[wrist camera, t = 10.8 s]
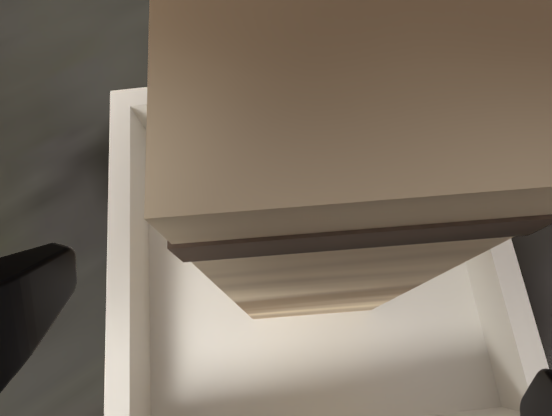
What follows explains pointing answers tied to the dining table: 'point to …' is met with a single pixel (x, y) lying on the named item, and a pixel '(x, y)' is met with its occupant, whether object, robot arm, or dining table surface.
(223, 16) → the birch block
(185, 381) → the tray
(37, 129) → the dining table surface
